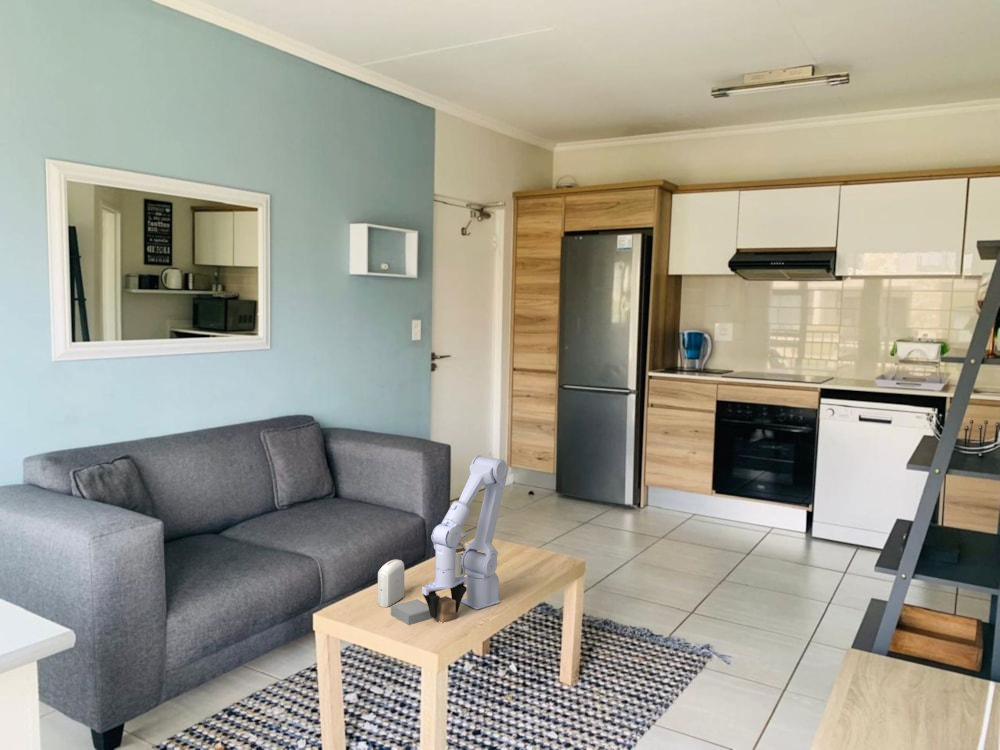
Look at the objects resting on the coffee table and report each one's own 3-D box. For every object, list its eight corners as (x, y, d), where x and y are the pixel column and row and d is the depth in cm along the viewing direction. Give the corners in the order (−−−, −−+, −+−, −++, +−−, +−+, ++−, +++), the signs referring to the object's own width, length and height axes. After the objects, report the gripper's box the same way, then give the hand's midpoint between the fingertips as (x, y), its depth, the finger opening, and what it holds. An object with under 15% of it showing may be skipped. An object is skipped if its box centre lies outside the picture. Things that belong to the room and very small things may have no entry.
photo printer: (387, 608, 217) (388, 567, 216) (375, 606, 219) (375, 565, 218) (406, 597, 227) (406, 557, 226) (394, 594, 228) (394, 555, 227)
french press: (455, 567, 255) (456, 495, 253) (478, 575, 247) (480, 501, 245) (433, 573, 248) (434, 500, 246) (456, 582, 240) (458, 506, 238)
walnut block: (445, 614, 214) (446, 596, 214) (455, 619, 211) (455, 600, 210) (433, 618, 211) (433, 599, 211) (442, 623, 208) (443, 604, 207)
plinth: (416, 607, 219) (417, 599, 219) (434, 617, 212) (435, 608, 212) (390, 614, 213) (391, 606, 213) (408, 625, 206) (408, 616, 206)
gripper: (457, 558, 218) (456, 603, 219) (416, 568, 208) (415, 615, 209) (472, 564, 212) (471, 611, 213) (430, 575, 203) (429, 623, 204)
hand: (444, 613), depth 211 cm, fingers open, 7 cm apart
